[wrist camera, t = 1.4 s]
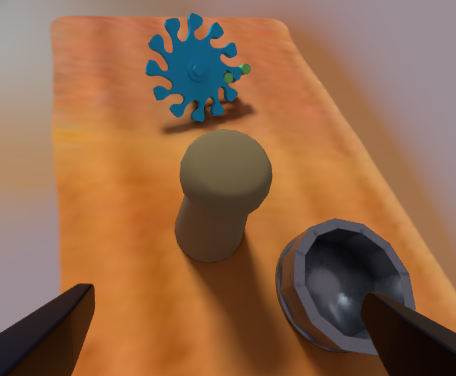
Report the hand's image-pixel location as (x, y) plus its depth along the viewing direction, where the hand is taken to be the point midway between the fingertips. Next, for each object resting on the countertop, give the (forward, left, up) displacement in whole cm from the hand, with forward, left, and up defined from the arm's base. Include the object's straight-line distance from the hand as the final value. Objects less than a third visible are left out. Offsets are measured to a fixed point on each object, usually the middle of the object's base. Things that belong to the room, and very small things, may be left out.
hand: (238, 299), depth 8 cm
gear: (+22, +5, -13) cm, 26 cm away
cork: (+7, +1, -13) cm, 15 cm away
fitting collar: (+4, -10, -13) cm, 17 cm away
